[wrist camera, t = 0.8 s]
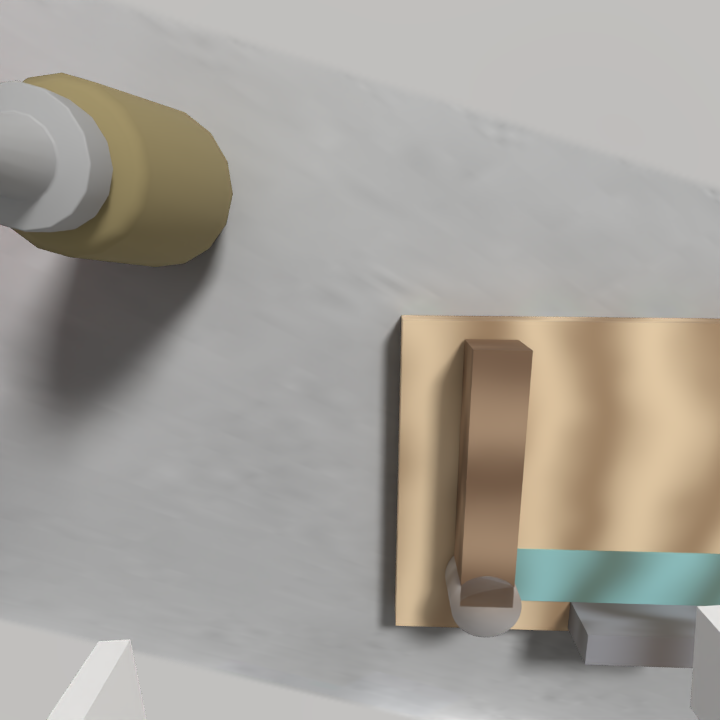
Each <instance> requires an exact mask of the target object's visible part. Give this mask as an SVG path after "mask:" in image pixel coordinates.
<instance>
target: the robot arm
mask: <svg viewBox="0 0 720 720" xmlns="http://www.w3.org/2000/svg"><path fill="white" fill-rule="evenodd" d="M690 707H691V709H692V710H693V712H694V713H695V715H696V716H697V717H698V719H699V720H720V605H713V606H697V614H696V629H695V643H694V658H693V672H692V687H691V701H690ZM47 720H147V718H146V713H145V708H144V703H143V698H142V693H141V688H140V683H139V679H138V674H137V669H136V665H135V659H134V654H133V649H132V644H131V639H130V640H113V641H99V642H98V643H97V645H96V646H95V648H94V649H93V651H92V652H91V654H90V655H89V657H88V658H87V660H86V661H85V663H84V664H83V666H82V667H81V669H80V670H79V672H78V673H77V675H76V676H75V678H74V679H73V681H72V682H71V684H70V685H69V687H68V688H67V690H66V691H65V693H64V694H63V696H62V697H61V699H60V700H59V702H58V703H57V705H56V706H55V708H54V709H53V711H52V712H51V714H50V715H49V717H48V718H47Z"/></svg>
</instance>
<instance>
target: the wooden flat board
mask: <svg viewBox="0 0 720 720" xmlns="http://www.w3.org/2000/svg"><path fill="white" fill-rule="evenodd" d="M465 339H503V340H519V341H521V342H522V343H523V344H525V345H526V346H527V347H529V348H530V349H532V350H533V357H532V369H531V382H530V395H529V408H528V420H527V433H526V446H525V459H524V471H523V484H522V497H521V510H520V522H519V535H518V548H517V561H516V573H515V585H516V588H517V590H518V593H519V595H520V598H521V603H522V609H521V614H520V617H519V619H518V621H517V622H516V623H515V625H514V626H513V627H512V628H511V629H521V630H553V631H569V632H570V634H571V636H572V638H573V641H574V643H575V645H576V647H577V649H578V651H579V653H580V655H581V657H582V659H583V661H584V664H585V665H615V666H644V667H674V668H693V658H694V643H695V629H696V614H697V606H713V605H720V319H704V318H609V317H514V316H419V315H401V359H400V404H399V448H398V492H397V537H396V581H395V619H396V626H426V627H457V628H460V627H459V626H458V625H457V624H456V622H455V620H454V618H453V616H452V612H451V607H450V601H449V596H448V591H447V585H446V580H445V570H446V567H447V564H448V562H449V561H450V559H451V558H452V557H453V556H454V544H455V524H456V504H457V484H458V463H459V443H460V423H461V403H462V382H463V362H464V342H465Z"/></svg>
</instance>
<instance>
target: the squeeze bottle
mask: <svg viewBox="0 0 720 720" xmlns="http://www.w3.org/2000/svg"><path fill="white" fill-rule="evenodd" d="M232 195H233V193H232V187H231V181H230V175H229V169H228V162H227V160H226V159H225V157H224V155H223V153H222V152H221V150H220V148H219V147H218V145H217V143H216V141H215V140H214V138H213V136H212V135H211V133H210V132H209V131H207V130H206V129H205V128H204V127H202V126H201V125H200V124H199V123H197V122H196V121H195V120H194V119H192V118H191V117H190V116H189V115H187V114H186V113H185V112H182V111H179V110H176V109H173V108H170V107H167V106H164V105H161V104H158V103H155V102H152V101H149V100H146V99H143V98H140V97H137V96H134V95H131V94H128V93H125V92H122V91H119V90H116V89H113V88H110V87H107V86H104V85H102V84H99V83H95V82H92V81H89V80H85V79H82V78H78V77H75V76H71V75H68V74H64V73H57V74H50V75H43V76H37V77H30V78H27V79H26V80H24V81H23V82H21V81H17V80H15V81H8V82H1V83H0V225H3V226H7V227H10V228H12V229H13V230H14V231H16V232H17V233H18V234H20V235H21V236H22V237H24V238H25V239H26V240H28V241H29V242H30V243H32V244H33V245H34V246H36V247H37V248H40V249H43V250H47V251H50V252H54V253H57V254H61V255H64V256H68V257H74V258H82V259H91V260H100V261H108V262H117V263H126V264H134V265H143V266H152V267H160V266H168V265H176V264H184V263H186V262H188V261H189V260H191V259H193V258H194V257H196V256H198V255H199V254H201V253H203V252H204V251H206V250H208V249H209V248H210V247H211V245H212V244H213V242H214V241H215V240H216V238H217V237H218V235H219V234H220V232H221V231H222V230H223V228H224V227H225V225H226V223H227V218H228V213H229V209H230V204H231V200H232Z"/></svg>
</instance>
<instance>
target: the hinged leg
mask: <svg viewBox="0 0 720 720" xmlns="http://www.w3.org/2000/svg"><path fill="white" fill-rule="evenodd" d="M532 357H533V350H532V349H530V348H529V347H527V346H526V345H525V344H523V343H522V342H521V341H519V340H503V339H465V342H464V362H463V382H462V403H461V423H460V443H459V463H458V484H457V504H456V524H455V544H454V556H453V557H452V558H451V559H450V561H449V562H448V564H447V567H446V570H445V580H446V585H447V591H448V596H449V601H450V607H451V612H452V616H453V618H454V620H455V622H456V624H457V625H458V626H459V627H460V628H461V629H462V630H464V631H465V632H467V633H469V634H471V635H474V636H478V637H494V636H498V635H500V634H503V633H505V632H506V631H508V630H509V629H511V628H512V627H513V626H514V625H515V623H516V622H517V621H518V619H519V617H520V614H521V609H522V603H521V598H520V595H519V593H518V590H517V588H516V585H515V573H516V561H517V548H518V535H519V522H520V510H521V497H522V484H523V471H524V459H525V446H526V433H527V420H528V408H529V395H530V382H531V369H532Z"/></svg>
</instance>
